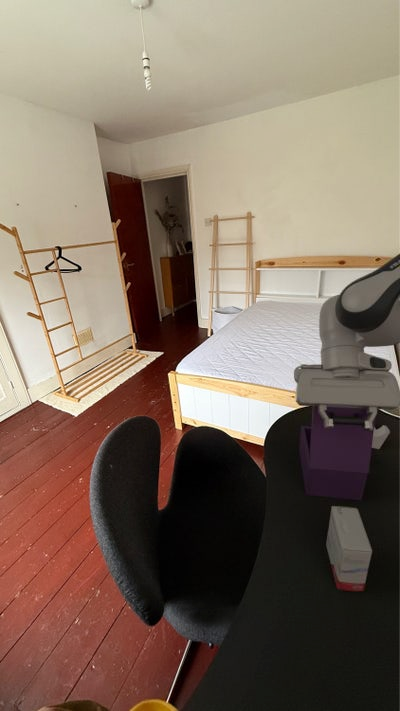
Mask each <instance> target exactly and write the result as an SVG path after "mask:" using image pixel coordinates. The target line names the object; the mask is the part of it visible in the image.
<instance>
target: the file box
mask: <svg viewBox="0 0 400 711" xmlns="http://www.w3.org/2000/svg"><path fill="white" fill-rule="evenodd" d="M300 427H301V428H300V437H299V445H298V446H299V447H298V451H299V458H300V465H301V470H302V476H303V484H304V491H305V495H306V496H312V497H322V498H331V499H341V500H342V499H343V500H353V501H362V500H363V496H364V491H365V487H366V483H367V478H368V473H358V472H346V471H334V470H322V469H310V468H309V460H310V444H311V428H312V426H305V425H301V426H300Z"/></svg>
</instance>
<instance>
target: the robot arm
mask: <svg viewBox="0 0 400 711" xmlns="http://www.w3.org/2000/svg"><path fill="white" fill-rule="evenodd" d="M318 331H319V332H318V334H319V339H320V341H321V349H320V363H319V364H317V363H315V364H308V363H307V364H306V363H303V364H302V363H301V364H300V365H298V366H296V368H294V370H293V380H294V382H295V383H296V388H295V402H296V404H297V405H299V406H300V407H313V406H318V412H319V414H320V415H321V417H322V418H323V420H324V427H325V428H333V427H334V425H333V419H329V418H328V416H327V415H326V413H325V411H326V410H327V407H341V408H363V409H366V413H367V414H369V416H368V418H367V420H366V421H365V425H364V426H362V430H367V431H371V430H373V425H372V421H373V420H374V418H375V419H376V416H377V414H378V410H385V411H386V410H389V411H392V410H396V409H398V408H399V407H400V386H399V383H398V382H399V381H398V380H397V377H396V376H395V374H393V372H391V369H392V362H391V360H389V359H387V358H382V357H379V356H376V355H373V354H369V353H367V352H365V348H366V347H368V348H378V347H380V348H381V347H389V346H395V345H397V344H400V253H398V254H397V255H396V256H394V257H393V258H391V259H390V260H389V261H387V262H386V263H384V264H383V265H382V266H380V267H378V268H377V269H374V270H373V271H371V272H369V273H367V274H365V275H363V276H360V277H359V278H356V279H355V280H353V281H351V282H350V283H349V284H347V285H346V286H345V287H343V289H342V290H341V292H340V293H339V294H336V295H334V296H331V297H329V298H328V299H327V300H325V301H324V302H323V303H322V305H321V308H320V311H319V318H318Z"/></svg>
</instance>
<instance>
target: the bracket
mask: <svg viewBox="0 0 400 711" xmlns="http://www.w3.org/2000/svg"><path fill="white" fill-rule="evenodd" d="M390 434H391V431H390V429H389V428H388V426H387V425H382V426H380V427H379V428H377V429H376V427H375V426H374V433H373V441H372V449H377V450H381V447H382V446H383V444H384V442H385V441H386V440H387V439H388V436H389V435H390Z"/></svg>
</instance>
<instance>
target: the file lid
mask: <svg viewBox="0 0 400 711" xmlns="http://www.w3.org/2000/svg"><path fill="white" fill-rule="evenodd" d="M325 413H326V415H327V416H328V418H329V419H333V425H334V427H333V428H325V427H324V420H323V418H322V417H321V415H320V414H319V412H318V406H312V412H311V414H312V415H311V427H312V428H311V444H310V460H309V468H310V469H322V470H334V471H346V472H358V473H367V474H369V473H370V464H371V457H372V449H373V448H372V441H373V433H374V427H375V425H376V417H375V418H374V420H373V421H372V425H373V430H371V431H367V430H362V426H364V425H365V421H366V420H367V418H368V416H369V414H367V413H366V409H363V408H341V407H327V410H326V411H325Z"/></svg>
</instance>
